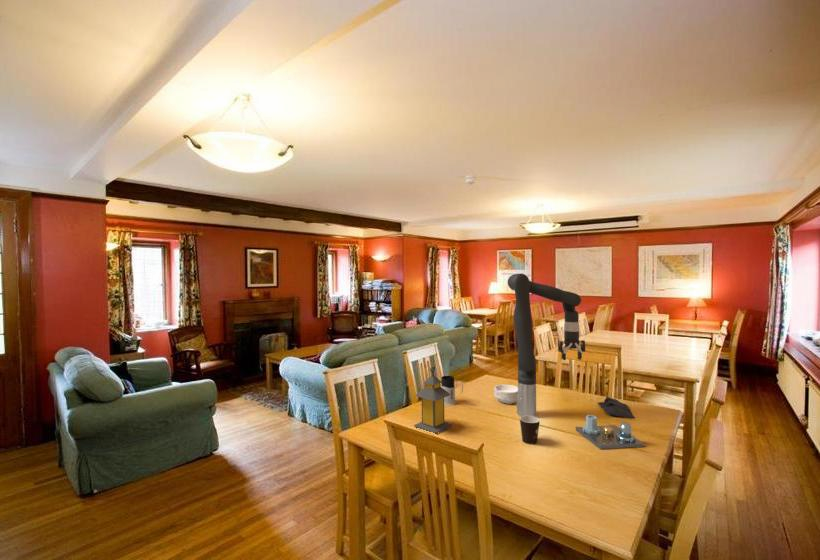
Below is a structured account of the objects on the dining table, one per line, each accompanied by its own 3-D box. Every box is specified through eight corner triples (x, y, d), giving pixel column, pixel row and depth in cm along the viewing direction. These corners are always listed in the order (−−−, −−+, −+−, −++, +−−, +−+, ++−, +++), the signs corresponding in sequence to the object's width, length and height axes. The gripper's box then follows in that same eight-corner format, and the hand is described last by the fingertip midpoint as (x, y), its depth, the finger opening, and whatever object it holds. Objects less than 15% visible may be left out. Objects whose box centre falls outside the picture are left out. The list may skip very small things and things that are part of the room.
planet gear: (588, 434, 175) (588, 420, 175) (579, 427, 183) (579, 414, 183) (604, 433, 176) (604, 419, 176) (594, 427, 184) (594, 413, 184)
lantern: (453, 426, 191) (452, 366, 191) (435, 435, 181) (434, 371, 180) (431, 419, 201) (430, 361, 200) (413, 427, 191) (412, 367, 190)
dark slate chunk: (604, 417, 201) (603, 408, 201) (597, 403, 222) (597, 395, 222) (637, 420, 196) (637, 411, 196) (626, 405, 217) (626, 397, 217)
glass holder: (445, 399, 231) (445, 374, 231) (466, 403, 223) (466, 378, 222) (437, 403, 224) (437, 378, 223) (459, 408, 216) (459, 381, 215)
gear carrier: (600, 449, 164) (600, 430, 164) (575, 430, 184) (575, 413, 184) (644, 446, 166) (644, 428, 166) (615, 428, 186) (615, 411, 186)
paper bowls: (524, 405, 219) (523, 391, 218) (497, 405, 219) (497, 392, 219) (516, 396, 234) (516, 383, 234) (491, 397, 234) (491, 384, 234)
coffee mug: (529, 447, 167) (529, 424, 167) (515, 439, 175) (515, 417, 175) (548, 441, 173) (548, 419, 173) (534, 434, 180) (534, 413, 180)
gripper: (562, 331, 204) (562, 361, 204) (588, 330, 205) (588, 360, 205) (555, 329, 211) (555, 358, 212) (580, 328, 213) (580, 357, 213)
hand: (571, 359), depth 209 cm, fingers open, 8 cm apart
